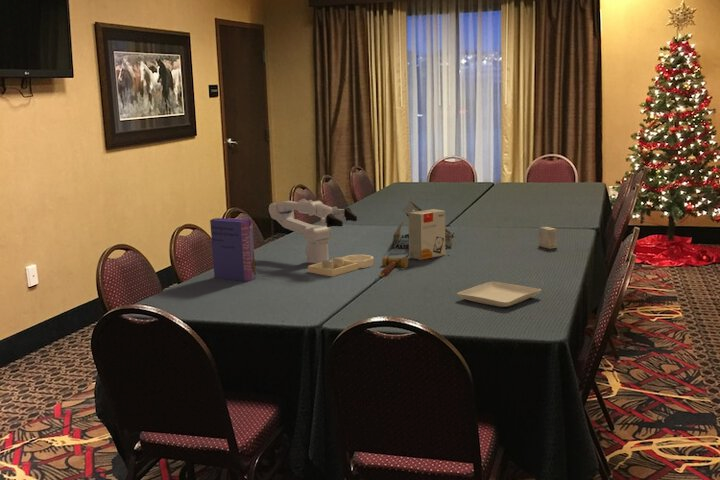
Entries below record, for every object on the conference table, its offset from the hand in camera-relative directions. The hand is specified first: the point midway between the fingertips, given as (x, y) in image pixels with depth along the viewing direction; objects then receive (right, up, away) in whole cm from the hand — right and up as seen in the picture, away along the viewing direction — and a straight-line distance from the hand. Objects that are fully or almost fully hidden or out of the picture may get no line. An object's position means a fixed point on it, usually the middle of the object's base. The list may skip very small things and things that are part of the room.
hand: (349, 221), depth 320 cm
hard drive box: (+34, -15, +23) cm, 43 cm away
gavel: (+16, -21, -3) cm, 27 cm away
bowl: (+4, -19, +9) cm, 21 cm away
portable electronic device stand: (+35, -9, +55) cm, 66 cm away
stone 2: (-4, -20, +2) cm, 20 cm away
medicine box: (+89, -11, +32) cm, 95 cm away
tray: (-6, -21, 0) cm, 22 cm away
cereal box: (-46, -23, -4) cm, 52 cm away
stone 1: (-9, -21, -2) cm, 22 cm away
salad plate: (+52, -28, -50) cm, 78 cm away
